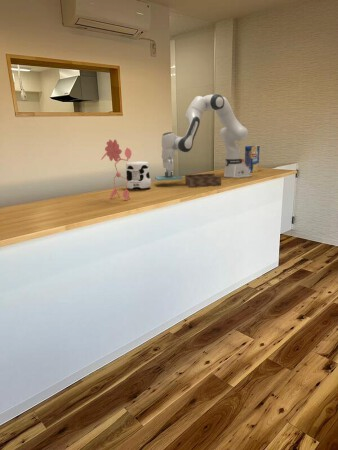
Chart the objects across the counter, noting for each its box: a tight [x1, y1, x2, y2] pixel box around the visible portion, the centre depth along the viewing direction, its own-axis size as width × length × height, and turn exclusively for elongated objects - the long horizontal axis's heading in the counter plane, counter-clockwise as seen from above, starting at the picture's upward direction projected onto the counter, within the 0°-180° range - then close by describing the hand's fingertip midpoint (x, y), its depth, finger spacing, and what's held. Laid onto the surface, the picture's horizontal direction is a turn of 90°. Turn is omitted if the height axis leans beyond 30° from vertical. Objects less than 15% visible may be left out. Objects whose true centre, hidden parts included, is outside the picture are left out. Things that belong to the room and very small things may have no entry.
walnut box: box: [184, 172, 222, 188], centre depth 234 cm, size 22×15×6 cm, turn 102°
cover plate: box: [154, 171, 184, 182], centre depth 236 cm, size 18×12×5 cm, turn 102°
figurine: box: [100, 139, 132, 205], centre depth 189 cm, size 15×26×35 cm, turn 51°
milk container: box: [125, 160, 152, 191], centre depth 224 cm, size 17×17×18 cm
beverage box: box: [244, 145, 260, 174], centre depth 286 cm, size 7×11×22 cm, turn 130°
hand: (168, 175), depth 236 cm, fingers closed on cover plate, 2 cm apart
